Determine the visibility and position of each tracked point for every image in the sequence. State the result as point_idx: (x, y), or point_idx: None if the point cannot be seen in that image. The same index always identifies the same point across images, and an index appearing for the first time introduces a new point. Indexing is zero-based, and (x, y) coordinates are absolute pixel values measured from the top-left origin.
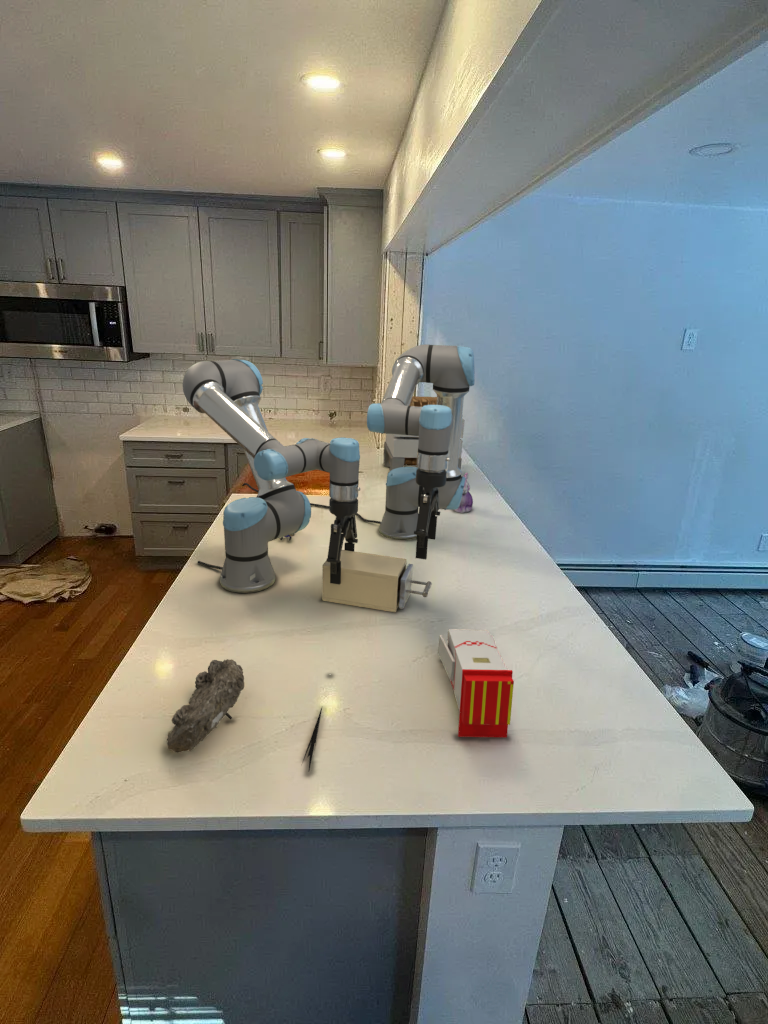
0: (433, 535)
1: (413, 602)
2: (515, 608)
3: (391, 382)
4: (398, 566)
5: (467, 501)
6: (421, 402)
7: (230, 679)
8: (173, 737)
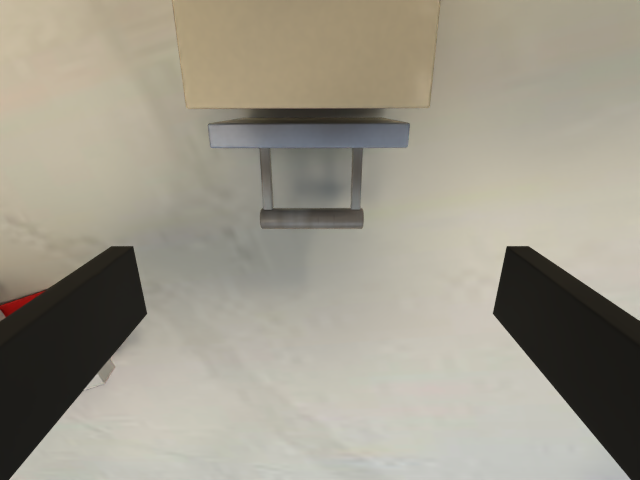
0: (511, 321)
1: (329, 153)
2: (379, 415)
3: None
4: (309, 82)
5: None
6: None
7: None
8: None
